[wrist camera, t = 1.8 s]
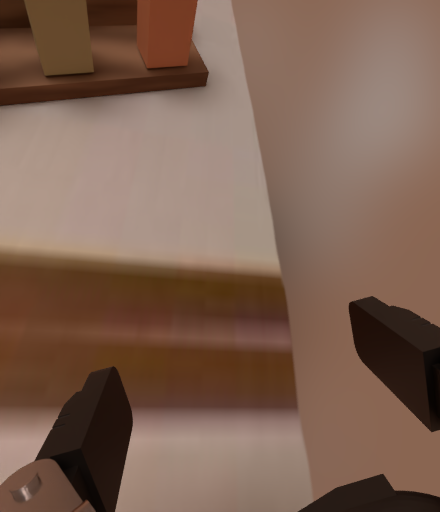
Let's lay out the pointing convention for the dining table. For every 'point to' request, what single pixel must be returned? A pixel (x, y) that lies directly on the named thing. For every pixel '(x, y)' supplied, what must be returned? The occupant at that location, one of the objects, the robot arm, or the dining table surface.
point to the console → (103, 54)
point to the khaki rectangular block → (61, 35)
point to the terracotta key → (165, 31)
